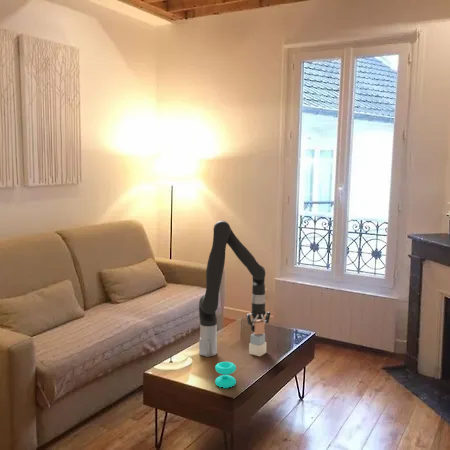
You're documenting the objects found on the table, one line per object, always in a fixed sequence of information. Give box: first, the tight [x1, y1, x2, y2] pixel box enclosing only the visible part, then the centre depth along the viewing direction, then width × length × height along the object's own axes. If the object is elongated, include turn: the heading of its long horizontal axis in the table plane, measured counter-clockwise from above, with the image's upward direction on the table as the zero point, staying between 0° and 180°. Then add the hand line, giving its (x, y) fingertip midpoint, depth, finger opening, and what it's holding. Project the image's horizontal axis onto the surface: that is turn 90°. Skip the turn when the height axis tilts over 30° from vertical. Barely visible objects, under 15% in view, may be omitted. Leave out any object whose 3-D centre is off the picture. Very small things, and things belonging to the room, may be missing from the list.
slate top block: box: [250, 332, 266, 346], centre depth 274 cm, size 6×6×5 cm
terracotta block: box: [252, 319, 266, 334], centre depth 274 cm, size 6×6×6 cm
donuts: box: [214, 361, 237, 389], centre depth 235 cm, size 10×10×10 cm
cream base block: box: [248, 341, 267, 357], centre depth 275 cm, size 7×7×6 cm
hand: (258, 330), depth 274 cm, fingers closed on terracotta block, 5 cm apart
